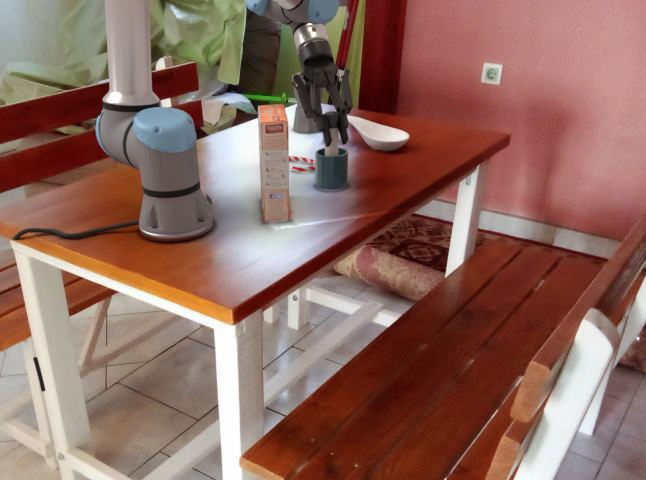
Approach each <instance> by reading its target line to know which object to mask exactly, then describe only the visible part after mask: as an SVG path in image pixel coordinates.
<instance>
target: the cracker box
mask: <svg viewBox="0 0 646 480" xmlns="http://www.w3.org/2000/svg"><path fill="white" fill-rule="evenodd" d="M286 111H287V110H286V106H285V104H283V103H276V104H275V103H273V104H261V105H257V125H258V150H259V153H258V155H259V176H260V177H259V179H260V200H261V209H262V212H261V213H262V219H263V220H262V221H263V222H264V223H266V222H272V221H273V222H274V221H288V220H291V210H290V208H291V207H290V206H291V205H290V204H291V202H290V161H289V156H290V154H289V153H290V151H289V150H290V149H289V148H290V147H289V146H290V145H289V144H290V143H289V141H290V140H289V119H288V115H287V112H286Z"/></svg>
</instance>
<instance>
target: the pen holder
mask: <svg viewBox="0 0 646 480" xmlns="http://www.w3.org/2000/svg"><path fill="white" fill-rule="evenodd" d="M314 160H315V172H314V173H315V174H314V175H315V177H314V178H315V187H317V188H319V189H323V190H338V189H342V188H345V187H347V186H348V182H349V150H348V149H347V148H344V147H339V146H338V156H325V147H323V148H320V149H319V148H318V149H317V150H316V151H315V152H314Z"/></svg>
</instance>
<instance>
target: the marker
mask: <svg viewBox="0 0 646 480" xmlns="http://www.w3.org/2000/svg"><path fill="white" fill-rule="evenodd" d="M324 114H326V117H327V121H328V125H329V129H330V133H331V137H332V142H331V144H330V146H329V147H326V144H325V143H324V148H325V156H338V147H339V112H336V110H331V111H325V112H324Z"/></svg>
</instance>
